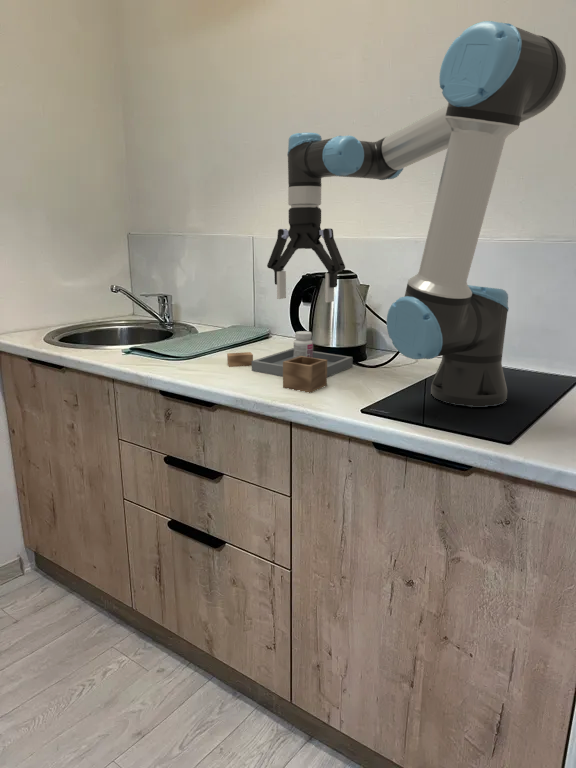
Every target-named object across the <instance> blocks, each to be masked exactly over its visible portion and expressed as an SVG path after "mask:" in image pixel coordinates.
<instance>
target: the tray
mask: <svg viewBox="0 0 576 768" xmlns="http://www.w3.org/2000/svg"><path fill="white" fill-rule="evenodd" d="M292 358H294V347H293V348H292V347H291V348H289V349H286V350H285V349H284V350H283V351H279V352H276V353H273V354H270V355H267V356H264V357H260V358H257V359H253V361H252V366H251V371H252V372H257V373H262V374H268V375H274V376H279V377H283V362H284V361H287V360H290V359H292ZM313 358H318V359H325V360H327V378H328V377H331V376H333V375H335V374H338V373H341V372H343V371H345V370H347V369H350V368H352V367H353V363H354V362H353V361H354V359H353V356H347V355H342V354H335V353H328V352H322V351H314V350H313Z"/></svg>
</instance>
